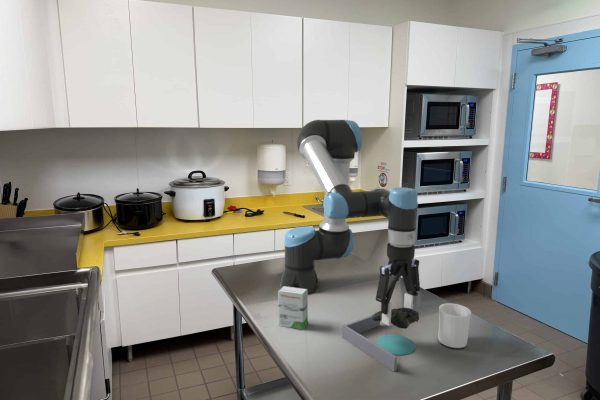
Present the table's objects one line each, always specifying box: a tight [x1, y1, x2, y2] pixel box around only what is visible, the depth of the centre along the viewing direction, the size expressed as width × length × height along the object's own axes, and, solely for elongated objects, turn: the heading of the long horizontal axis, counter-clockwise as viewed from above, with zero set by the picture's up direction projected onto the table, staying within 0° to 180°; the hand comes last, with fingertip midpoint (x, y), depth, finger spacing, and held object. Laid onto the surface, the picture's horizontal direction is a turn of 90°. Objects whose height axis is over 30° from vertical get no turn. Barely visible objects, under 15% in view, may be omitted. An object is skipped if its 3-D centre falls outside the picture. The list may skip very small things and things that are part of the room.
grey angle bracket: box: [341, 314, 398, 372], centre depth 121 cm, size 21×15×4 cm
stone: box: [371, 307, 420, 330], centre depth 120 cm, size 7×13×5 cm, turn 68°
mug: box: [437, 302, 472, 350], centre depth 123 cm, size 11×9×10 cm
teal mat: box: [376, 333, 416, 356], centre depth 122 cm, size 11×11×1 cm
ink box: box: [277, 286, 309, 330], centre depth 132 cm, size 9×5×12 cm, turn 71°
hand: (397, 319), depth 120 cm, fingers closed on stone, 8 cm apart
